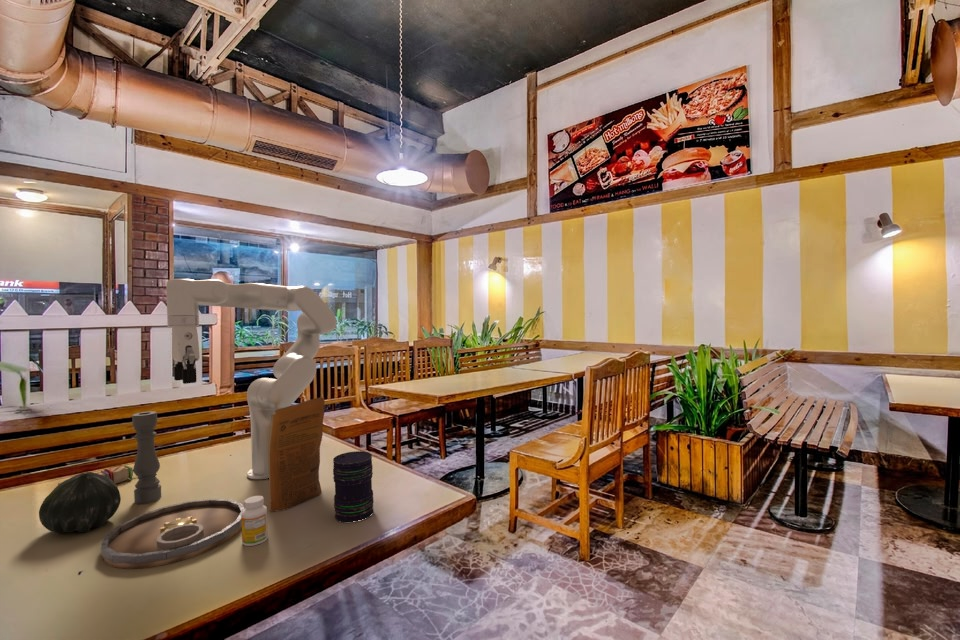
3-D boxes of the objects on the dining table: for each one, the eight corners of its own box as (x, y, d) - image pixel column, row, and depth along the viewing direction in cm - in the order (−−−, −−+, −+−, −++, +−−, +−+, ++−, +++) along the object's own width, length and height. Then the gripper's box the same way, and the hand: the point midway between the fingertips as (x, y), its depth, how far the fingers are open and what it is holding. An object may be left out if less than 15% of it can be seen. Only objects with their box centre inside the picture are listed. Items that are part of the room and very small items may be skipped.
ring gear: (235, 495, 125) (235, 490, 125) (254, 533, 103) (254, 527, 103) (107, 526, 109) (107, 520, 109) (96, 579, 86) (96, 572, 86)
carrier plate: (235, 499, 125) (235, 486, 125) (254, 538, 103) (254, 523, 103) (107, 531, 109) (106, 516, 109) (96, 585, 86) (95, 567, 86)
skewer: (64, 500, 128) (63, 483, 128) (56, 496, 132) (55, 480, 131) (147, 476, 146) (146, 462, 146) (138, 473, 149) (137, 459, 149)
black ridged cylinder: (381, 508, 118) (379, 452, 117) (359, 525, 108) (357, 465, 108) (349, 503, 121) (348, 449, 121) (326, 520, 112) (324, 461, 111)
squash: (63, 496, 117) (44, 466, 108) (132, 488, 123) (119, 459, 114) (42, 551, 108) (19, 523, 98) (118, 539, 113) (103, 512, 104)
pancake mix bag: (334, 491, 130) (331, 396, 129) (275, 517, 114) (271, 409, 113) (319, 486, 133) (316, 395, 133) (260, 512, 117) (256, 407, 117)
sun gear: (195, 519, 111) (195, 513, 111) (197, 530, 105) (197, 524, 105) (160, 528, 107) (159, 522, 107) (160, 540, 101) (160, 534, 101)
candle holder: (146, 505, 123) (143, 416, 123) (128, 503, 125) (125, 415, 124) (166, 495, 129) (163, 411, 129) (149, 494, 131) (145, 410, 130)
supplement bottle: (248, 535, 105) (247, 495, 105) (271, 533, 105) (270, 493, 105) (237, 547, 99) (236, 504, 99) (262, 545, 100) (261, 503, 100)
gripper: (207, 321, 123) (208, 382, 123) (190, 321, 135) (192, 377, 135) (175, 322, 118) (177, 386, 118) (161, 322, 130) (162, 380, 130)
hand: (185, 381), depth 127 cm, fingers open, 9 cm apart
